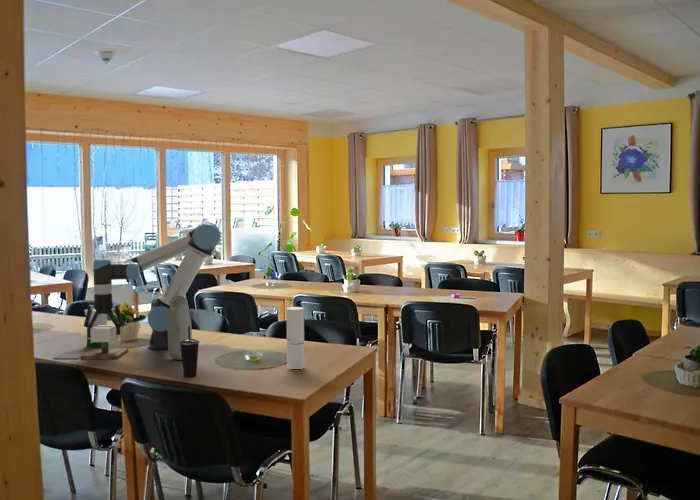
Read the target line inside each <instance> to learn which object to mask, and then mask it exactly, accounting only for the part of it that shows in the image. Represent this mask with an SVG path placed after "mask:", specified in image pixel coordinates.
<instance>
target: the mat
mask: <svg viewBox="0 0 700 500" xmlns="http://www.w3.org/2000/svg"><path fill="white" fill-rule="evenodd" d="M87 352H88V351H63V352H62V353H60V354H58V355H56V356H54V357H53V358H52V359H53V360H79V359H81V356H82V355H83V354H85V353H87Z"/></svg>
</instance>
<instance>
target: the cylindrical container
mask: <svg viewBox="0 0 700 500" xmlns="http://www.w3.org/2000/svg"><path fill="white" fill-rule="evenodd" d="M285 312H286V313H285V314H286V368H289V369H301V368H304V369H305V308H304V307H303V306H302V307H301V306H289V307H286V311H285ZM289 369H288V370H289Z"/></svg>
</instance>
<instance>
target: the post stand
mask: <svg viewBox="0 0 700 500" xmlns="http://www.w3.org/2000/svg"><path fill="white" fill-rule="evenodd" d="M108 344H109V342H101V347H100V348H91V350H89V351H86V352H87V353H85V354H83V355H82V356H81V358H80V360H119V358H121V357H123V356H124V355H125V354H127V353H128V352H129V348H126V347H124V348H123V347H122V348H109V347H110V346H109V345H108Z"/></svg>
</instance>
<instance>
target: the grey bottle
mask: <svg viewBox="0 0 700 500" xmlns="http://www.w3.org/2000/svg"><path fill="white" fill-rule="evenodd" d="M188 326H190V339H193V338H192V335H193V334H192V332H193V331H192V319H191V315H190V311H189V303H188V300H187V298H186V297H185V296H184V297H183V296H175V297H173V298H172V300H171V302H170V312H169V317H168V324H167V331H168V349H167V350H168V353H169V355H170V357H171V358H173V359H174V360H177V361H180V360H181V361H182V356H181V347H180V344H179V343H180V342H181V341H183V340H185V339H188Z"/></svg>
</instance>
